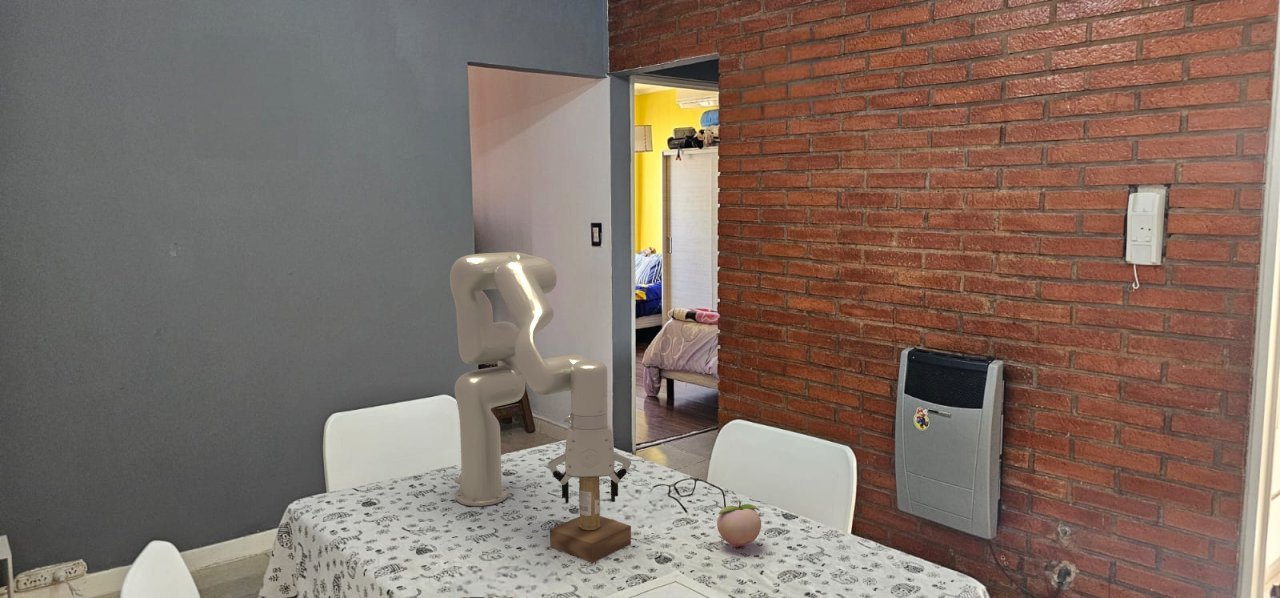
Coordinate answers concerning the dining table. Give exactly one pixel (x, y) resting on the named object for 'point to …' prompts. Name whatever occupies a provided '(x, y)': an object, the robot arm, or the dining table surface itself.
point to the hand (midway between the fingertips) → (590, 500)
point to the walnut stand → (590, 539)
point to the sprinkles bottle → (589, 503)
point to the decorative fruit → (739, 524)
